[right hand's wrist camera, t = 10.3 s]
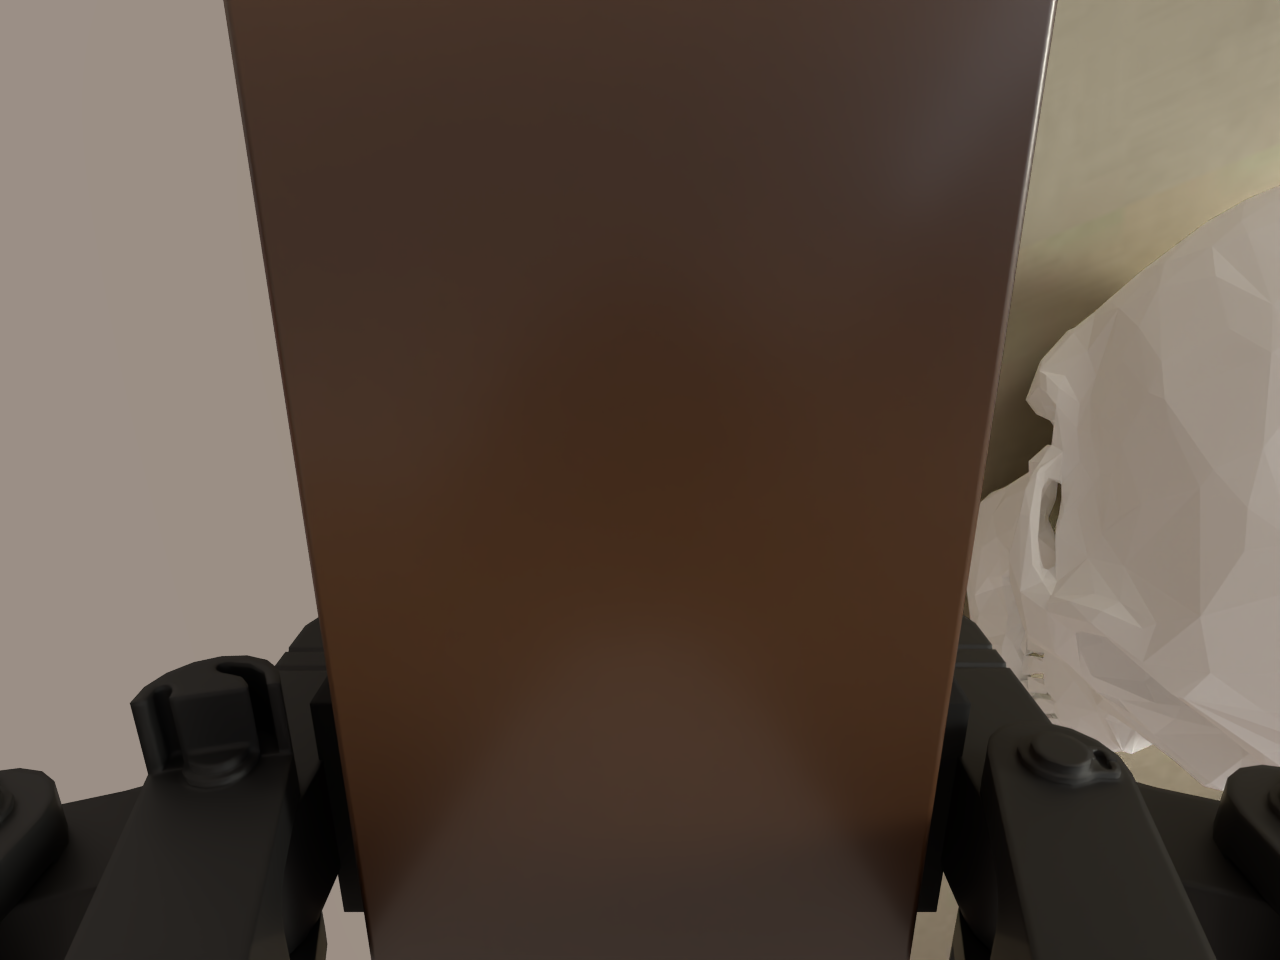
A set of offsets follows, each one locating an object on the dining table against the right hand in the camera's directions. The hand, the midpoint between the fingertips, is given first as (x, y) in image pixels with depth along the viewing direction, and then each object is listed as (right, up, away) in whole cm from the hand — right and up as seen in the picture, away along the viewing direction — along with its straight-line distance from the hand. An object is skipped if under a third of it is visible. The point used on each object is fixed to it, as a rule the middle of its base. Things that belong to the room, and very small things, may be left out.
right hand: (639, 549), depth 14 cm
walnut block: (0, +12, -4) cm, 12 cm away
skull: (+19, +2, +17) cm, 25 cm away
